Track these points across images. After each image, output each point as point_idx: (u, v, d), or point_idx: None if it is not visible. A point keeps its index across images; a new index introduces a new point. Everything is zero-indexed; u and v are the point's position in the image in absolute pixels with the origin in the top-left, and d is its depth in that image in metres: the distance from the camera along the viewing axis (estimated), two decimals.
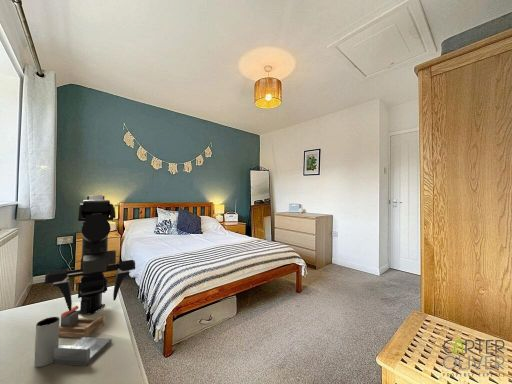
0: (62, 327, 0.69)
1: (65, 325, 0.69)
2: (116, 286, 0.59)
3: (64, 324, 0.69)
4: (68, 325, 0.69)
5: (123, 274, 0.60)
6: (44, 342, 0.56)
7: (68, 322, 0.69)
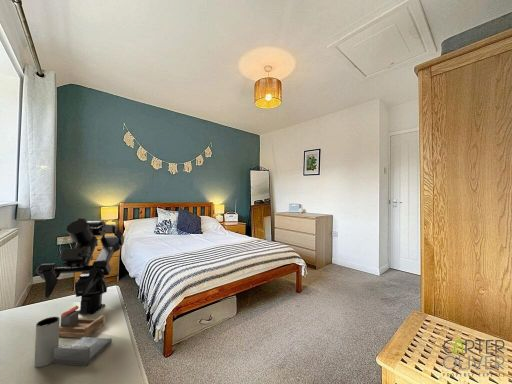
0: (62, 327, 0.69)
1: (65, 325, 0.69)
2: (87, 281, 0.69)
3: (64, 324, 0.69)
4: (68, 325, 0.69)
5: (94, 270, 0.70)
6: (44, 342, 0.56)
7: (68, 322, 0.69)
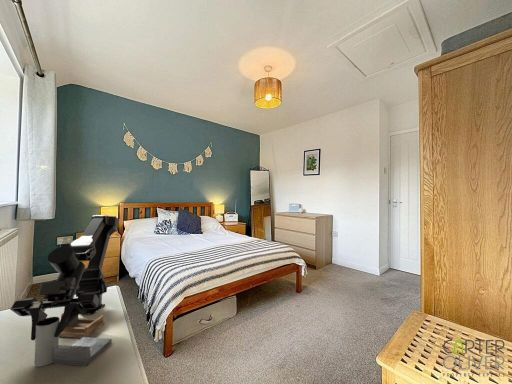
0: None
1: None
2: (61, 320, 0.59)
3: None
4: (68, 325, 0.69)
5: (70, 306, 0.60)
6: (44, 342, 0.56)
7: None
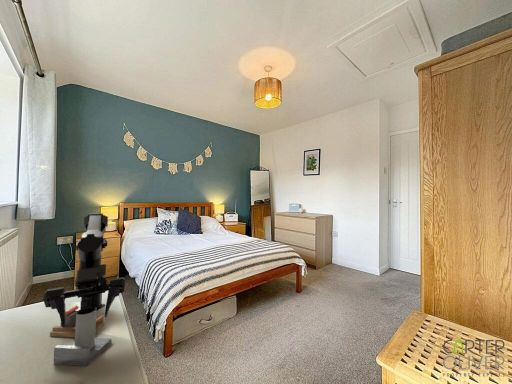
0: (62, 327, 0.69)
1: (65, 325, 0.69)
2: (107, 302, 0.64)
3: None
4: (68, 325, 0.69)
5: (113, 289, 0.66)
6: (87, 329, 0.60)
7: (68, 322, 0.69)
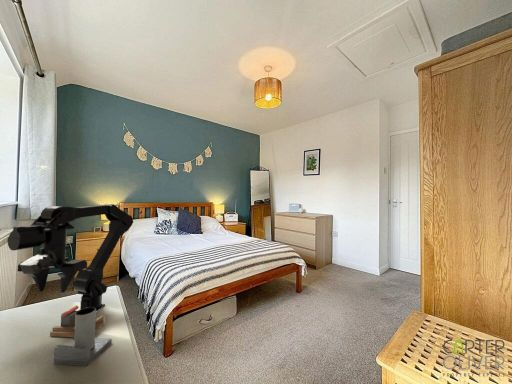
0: (62, 327, 0.69)
1: (65, 325, 0.69)
2: (61, 282, 0.70)
3: (64, 324, 0.69)
4: (68, 325, 0.69)
5: (62, 275, 0.69)
6: (87, 329, 0.60)
7: (68, 322, 0.69)
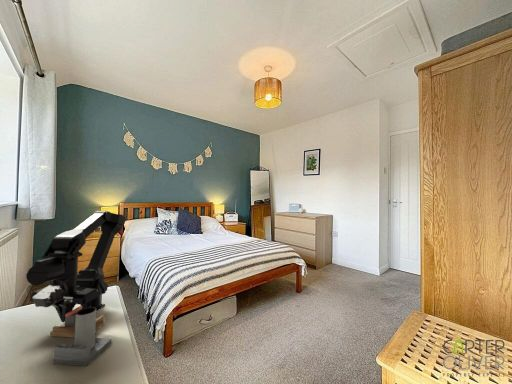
0: (62, 327, 0.69)
1: (69, 325, 0.69)
2: (62, 312, 0.70)
3: (68, 324, 0.69)
4: (72, 325, 0.69)
5: (63, 305, 0.68)
6: (87, 329, 0.60)
7: (72, 322, 0.69)
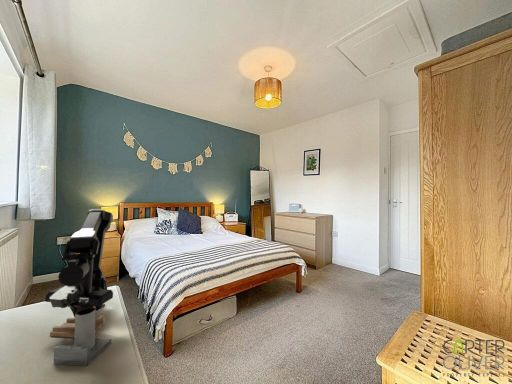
0: (62, 327, 0.69)
1: None
2: None
3: None
4: None
5: (78, 306, 0.68)
6: (86, 329, 0.60)
7: None
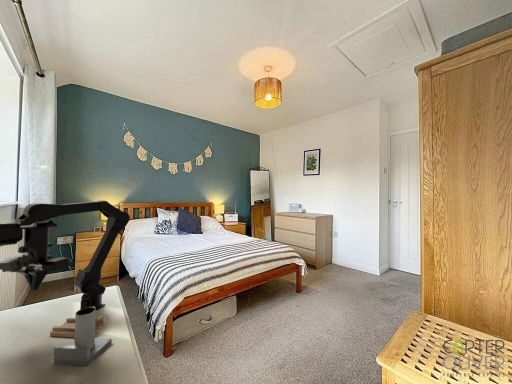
0: (62, 327, 0.69)
1: None
2: (32, 280, 0.69)
3: None
4: None
5: (32, 273, 0.68)
6: (86, 329, 0.60)
7: None
